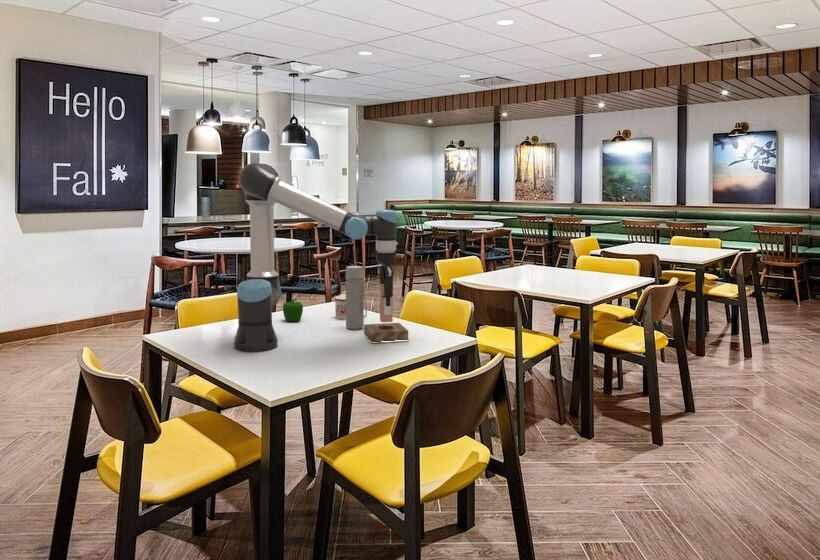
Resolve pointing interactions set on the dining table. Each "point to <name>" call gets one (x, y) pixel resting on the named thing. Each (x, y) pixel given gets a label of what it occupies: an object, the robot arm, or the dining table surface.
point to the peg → (383, 317)
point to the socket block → (385, 332)
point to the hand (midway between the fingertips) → (386, 312)
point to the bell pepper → (292, 310)
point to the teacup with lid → (340, 306)
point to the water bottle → (355, 297)
